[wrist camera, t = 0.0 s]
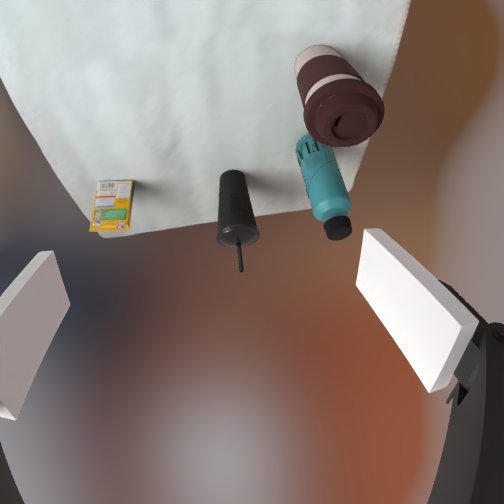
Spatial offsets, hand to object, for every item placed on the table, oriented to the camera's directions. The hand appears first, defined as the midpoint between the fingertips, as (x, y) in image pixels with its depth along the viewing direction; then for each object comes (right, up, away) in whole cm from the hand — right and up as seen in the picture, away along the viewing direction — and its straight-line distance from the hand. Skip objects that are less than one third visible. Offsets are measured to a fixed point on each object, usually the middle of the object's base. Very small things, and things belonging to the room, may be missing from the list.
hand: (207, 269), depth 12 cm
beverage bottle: (+12, +21, +42) cm, 48 cm away
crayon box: (-25, +14, +46) cm, 54 cm away
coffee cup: (+11, +28, +27) cm, 41 cm away
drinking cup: (-2, +15, +49) cm, 51 cm away
